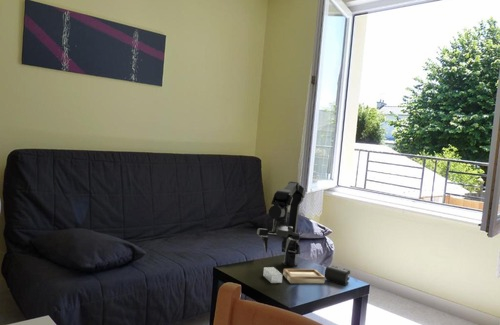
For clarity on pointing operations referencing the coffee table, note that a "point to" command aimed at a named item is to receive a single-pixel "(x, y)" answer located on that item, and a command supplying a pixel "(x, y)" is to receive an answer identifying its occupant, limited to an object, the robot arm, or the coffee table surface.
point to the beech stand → (303, 276)
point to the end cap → (337, 275)
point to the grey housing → (272, 275)
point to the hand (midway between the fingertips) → (275, 253)
